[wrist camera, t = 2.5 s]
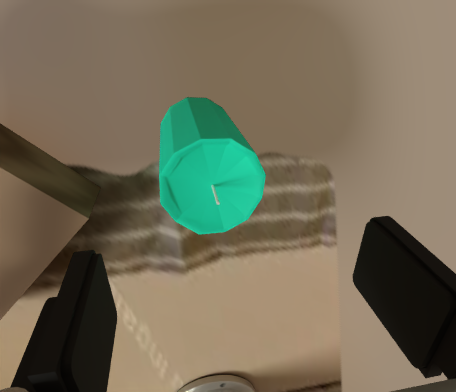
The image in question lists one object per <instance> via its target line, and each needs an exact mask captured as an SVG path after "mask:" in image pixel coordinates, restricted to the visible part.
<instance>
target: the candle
mask: <svg viewBox="0 0 456 392" xmlns="http://www.w3.org/2000/svg"><path fill="white" fill-rule="evenodd" d="M265 177H266V174H265V172H264V170H263V168H262V166H261V164H260V161H259V159H258V157H257V155H256V153H255V152H254V150H253V149H252V148H251V147H250V145H249V144H248V142H247V141H246V140H245V138H244V137H243V135H242V134H241V133H240V131H239V130H238V128H237V127H236V126H235V124H234V123H233V122H232V121H231V119H230V118H229V116H228V115H227V114H226V112H225V111H224V109H223V108H222V107H220V106H219V105H217V104H215V103H214V102H212V101H211V100H209V99H207V98H192V97H190V98H189V97H187V98H185V99H183V100H182V101H180V102H178V103H176V104H174V105H173V106H171V107H170V108H169V110H168V111H167V113H166V115H165V117H164V119H163V120H162V122H161V129H160V166H159V181H160V204H161V205H162V206H163V207H164V209H165V210H166V211H167V212H168V213H169V215H170V216H171V217H172V218H173V219H174V220H175V222H177V223H179V224H181V225H183V226H185V227H186V228H188V229H190V230H192V231H194V232H196V233H197V234H209V233H219V232H226V231H228V230H229V229H231V228H233V227H235V226H237V225H239V224H240V223H242V222H244V221H246V220H248V218H249V217H250V215H251V214H252V212H253V211H254V209H255V208H256V206H257V205H258V203H259V202H260V200H261V199H262V195H263V189H264V183H265Z"/></svg>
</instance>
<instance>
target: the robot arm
mask: <svg viewBox="0 0 456 392" xmlns="http://www.w3.org/2000/svg"><path fill="white" fill-rule="evenodd" d="M353 282H354V285H355V286H356V288H357V289H358V291H359V292H360V293H361V295H362V296H363V297H364V299H365V300H366V302H367V303H368V304H369V306H370V307H371V309H372V310H373V311H374V313H375V314H376V316H377V317H378V318H379V320H380V321H381V322H382V324H383V325H384V327H385V328H386V329H387V331H388V332H389V334H390V335H391V336H392V338H393V339H394V341H395V342H396V343H397V345H398V346H399V348H400V349H401V350H402V352H403V353H404V354H405V356H406V357H407V359H408V360H409V361H410V363H411V364H412V365H413V366H414V367H415V368H418V369H419V370H420V371H421V373H422V374H423V375H424V377H425V378H429V377H434V376H439V375H441V373H442V372H443V373H444V375H445V376H446V377H447V380H445V381H440V382H436V383H430V384H426V385H421V386H416V387H411V388H406V389H401V390H396V391H391V392H456V274H455V273H454V272H453V271H452V270H451V269H450V268H448V267H447V266H446V265H445V264H444V263H443V262H442V261H440V260H439V259H438V258H437V257H436V256H435V255H433V254H432V253H431V252H430V251H429V250H428V249H427V248H426V247H424V246H423V245H422V244H421V243H420V242H419V241H418V240H416V239H415V238H414V237H413V236H412V235H411V234H410V233H408V232H407V231H406V230H405V229H404V228H403V227H402V226H400V225H399V224H398V223H397V222H396V221H395V220H394V219H392V218H391V217H389V216H382V217H374V218H372V219H371V220H370V222H368V223H367V224H366V227H365V231H364V234H363V238H362V242H361V246H360V250H359V254H358V258H357V262H356V265H355V269H354V273H353ZM116 324H117V311H116V307H115V303H114V299H113V296H112V292H111V288H110V284H109V281H108V277H107V273H106V269H105V266H104V262H103V258H102V255H101V254H96V253H95V251H94V250H88V251H80V252H74V254H73V256H72V258H71V261H70V264H69V266H68V269H67V272H66V274H65V277H64V280H63V282H62V285H61V288H60V290H59V293H58V296H57V297H52V298H48V299H47V300H46V302H45V304H44V306H43V308H42V311H41V313H40V316H39V318H38V321H37V323H36V326H35V328H34V331H33V333H32V335H31V338H30V340H29V343H28V345H27V348H26V350H25V353H24V355H23V357H22V360H21V362H20V365H19V367H18V370H17V372H16V375H15V377H14V380H13V382H12V384H11V387H10V388H6V389H3V390H0V392H107V386H108V379H109V372H110V365H111V358H112V351H113V345H114V338H115V331H116ZM178 392H255V390H254V387H253V386H252V384H251V383H250V382H248V381H247V380H245V379H243V378H241V377H238V376H233V375H215V376H209V377H205V378H201V379H198V380H196V381H194V382H191V383H189V384H188V385H186V386H184V387H183V388H181V389H180V390H179V391H178Z"/></svg>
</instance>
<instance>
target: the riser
mask: <svg viewBox="0 0 456 392" xmlns="http://www.w3.org/2000/svg"><path fill="white" fill-rule="evenodd" d="M99 191H100V187H99V186H97V185H96V184H94V183H92V182H91V181H89V180H88V179H86V178H85V177H83V176H81V175H80V174H78V173H77V172H75V171H74V170H72V169H71V168H69V167H67V166H66V165H64V164H63V163H61V162H60V161H58V160H56V159H55V158H53V157H52V156H50V155H49V154H47V153H45V152H44V151H42V150H41V149H39V148H38V147H36V146H35V145H33V144H31V143H30V142H28V141H27V140H25V139H24V138H22V137H20V136H19V135H17V134H16V133H14V132H13V131H11V130H9V129H8V128H6V127H5V126H3V125H2V124H0V320H1V319H2V317H3V316H4V315H5V314H6V313H7V312H8V311H9V309H10V308H11V307H12V306H13V305H14V304H15V303H16V301H17V300H18V299H19V298H20V297H21V296H22V295H23V293H24V292H25V291H26V290H27V289H28V288H29V287H30V285H31V284H32V283H33V282H34V281H35V280H36V279H37V277H38V276H39V275H40V274H41V273H42V272H43V271H44V269H45V268H46V267H47V266H48V265H49V264H50V263H51V261H52V260H53V259H54V258H55V257H56V256H57V255H58V253H59V252H60V251H61V250H62V249H63V248H64V246H65V245H66V244H67V243H68V242H69V241H70V240H71V238H72V237H73V236H74V235H75V234H76V233H77V232H78V230H79V229H80V228H81V227H82V226H83V225H84V224H85V222H86V221H87V220H88V219H89V217H90V214H91V212H92V209H93V206H94V204H95V201H96V198H97V196H98V193H99Z"/></svg>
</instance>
